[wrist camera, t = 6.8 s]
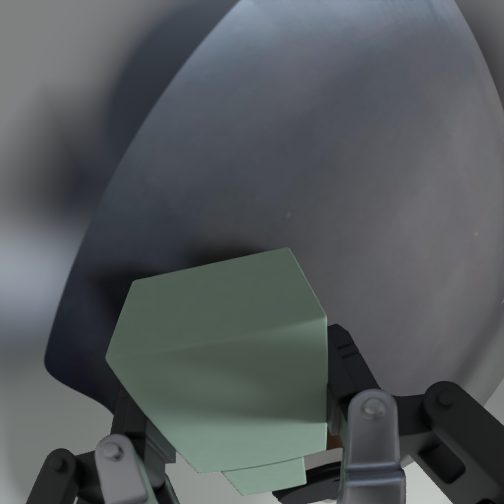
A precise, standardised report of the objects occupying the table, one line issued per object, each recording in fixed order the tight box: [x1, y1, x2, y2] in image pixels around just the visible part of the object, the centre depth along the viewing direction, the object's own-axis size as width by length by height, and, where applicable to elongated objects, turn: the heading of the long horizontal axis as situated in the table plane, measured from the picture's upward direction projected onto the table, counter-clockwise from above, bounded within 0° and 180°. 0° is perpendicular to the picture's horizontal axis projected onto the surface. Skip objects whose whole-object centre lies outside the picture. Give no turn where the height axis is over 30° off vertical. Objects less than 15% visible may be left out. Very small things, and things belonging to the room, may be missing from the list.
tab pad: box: [106, 247, 328, 496], centre depth 10 cm, size 11×5×4 cm, turn 10°
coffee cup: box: [272, 425, 343, 504], centre depth 28 cm, size 11×11×12 cm
